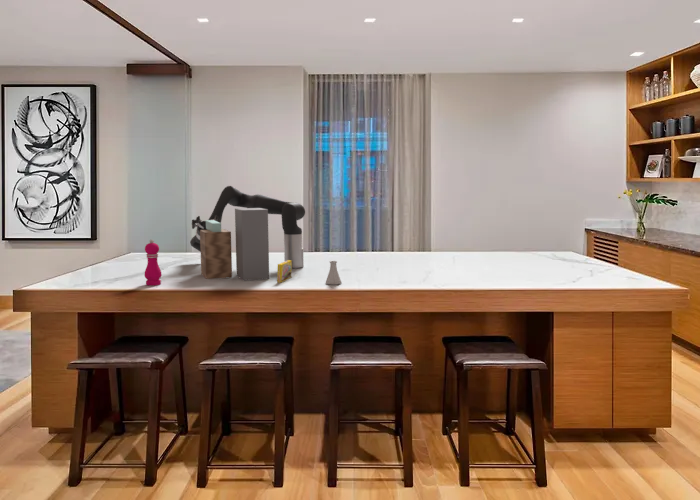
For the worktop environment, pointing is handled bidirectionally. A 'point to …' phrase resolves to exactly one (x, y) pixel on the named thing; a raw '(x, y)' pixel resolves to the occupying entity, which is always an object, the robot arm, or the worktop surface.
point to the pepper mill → (152, 264)
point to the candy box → (284, 271)
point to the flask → (333, 274)
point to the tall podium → (252, 243)
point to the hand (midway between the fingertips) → (207, 217)
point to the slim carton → (213, 225)
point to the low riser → (216, 254)
